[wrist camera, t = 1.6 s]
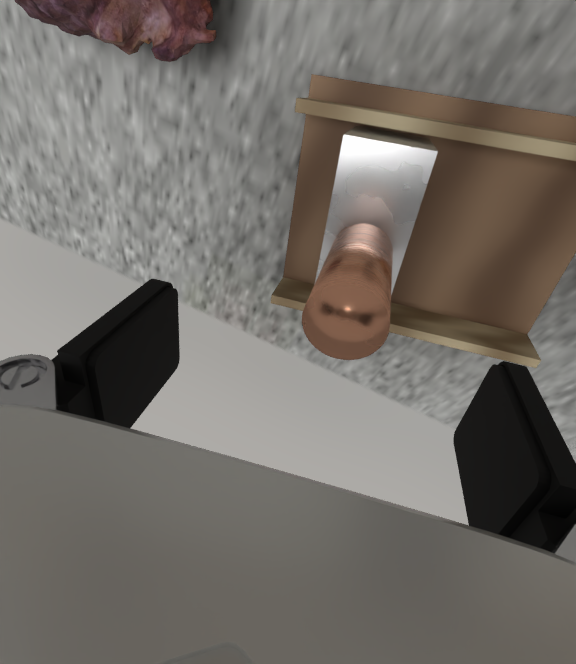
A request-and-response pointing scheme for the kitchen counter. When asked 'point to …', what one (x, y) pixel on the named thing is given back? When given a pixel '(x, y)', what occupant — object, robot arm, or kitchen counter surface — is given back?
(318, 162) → the base
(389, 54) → the kitchen counter surface
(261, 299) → the kitchen counter surface
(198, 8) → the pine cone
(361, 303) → the ram
